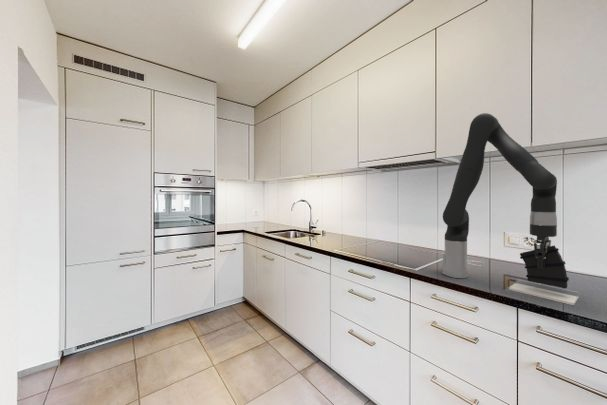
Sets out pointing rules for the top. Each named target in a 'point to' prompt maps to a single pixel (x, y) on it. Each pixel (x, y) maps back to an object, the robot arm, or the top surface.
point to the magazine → (546, 268)
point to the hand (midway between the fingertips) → (542, 267)
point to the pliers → (473, 261)
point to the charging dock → (545, 291)
